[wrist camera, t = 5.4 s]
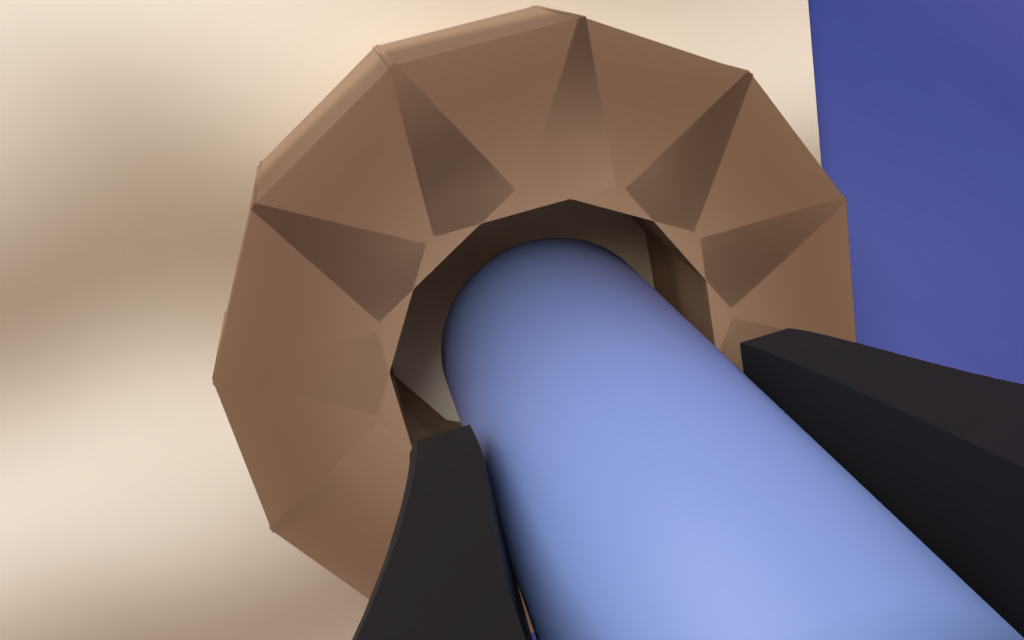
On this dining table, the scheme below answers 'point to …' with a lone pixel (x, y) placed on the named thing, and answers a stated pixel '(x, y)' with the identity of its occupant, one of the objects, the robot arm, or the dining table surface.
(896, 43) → the dining table surface
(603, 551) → the peg
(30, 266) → the board
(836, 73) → the dining table surface
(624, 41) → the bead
